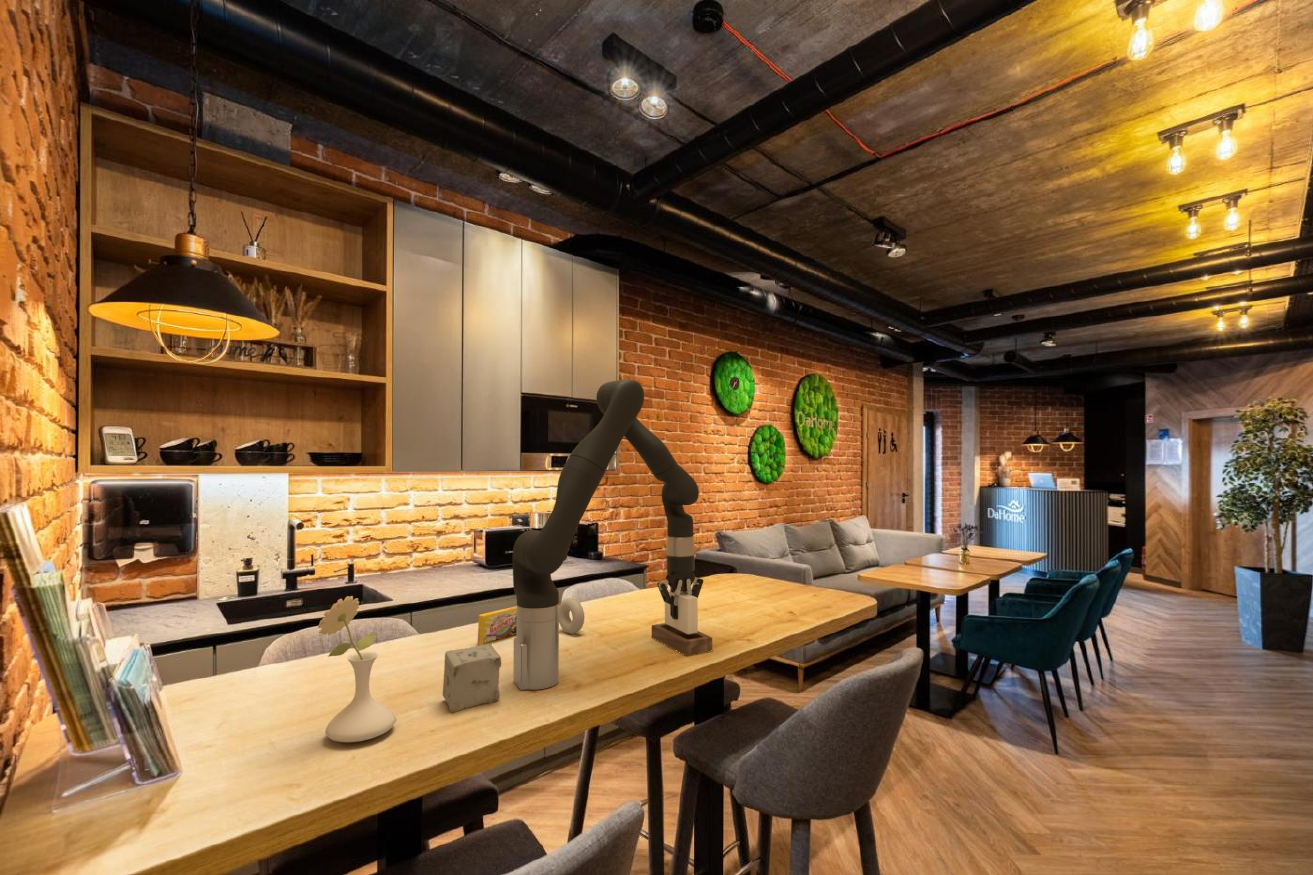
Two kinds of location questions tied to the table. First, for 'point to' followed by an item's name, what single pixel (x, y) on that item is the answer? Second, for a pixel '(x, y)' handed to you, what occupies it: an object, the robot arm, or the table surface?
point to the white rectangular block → (684, 614)
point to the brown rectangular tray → (682, 639)
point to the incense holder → (471, 677)
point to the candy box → (497, 626)
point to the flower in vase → (363, 712)
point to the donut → (577, 615)
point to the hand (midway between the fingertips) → (680, 617)
